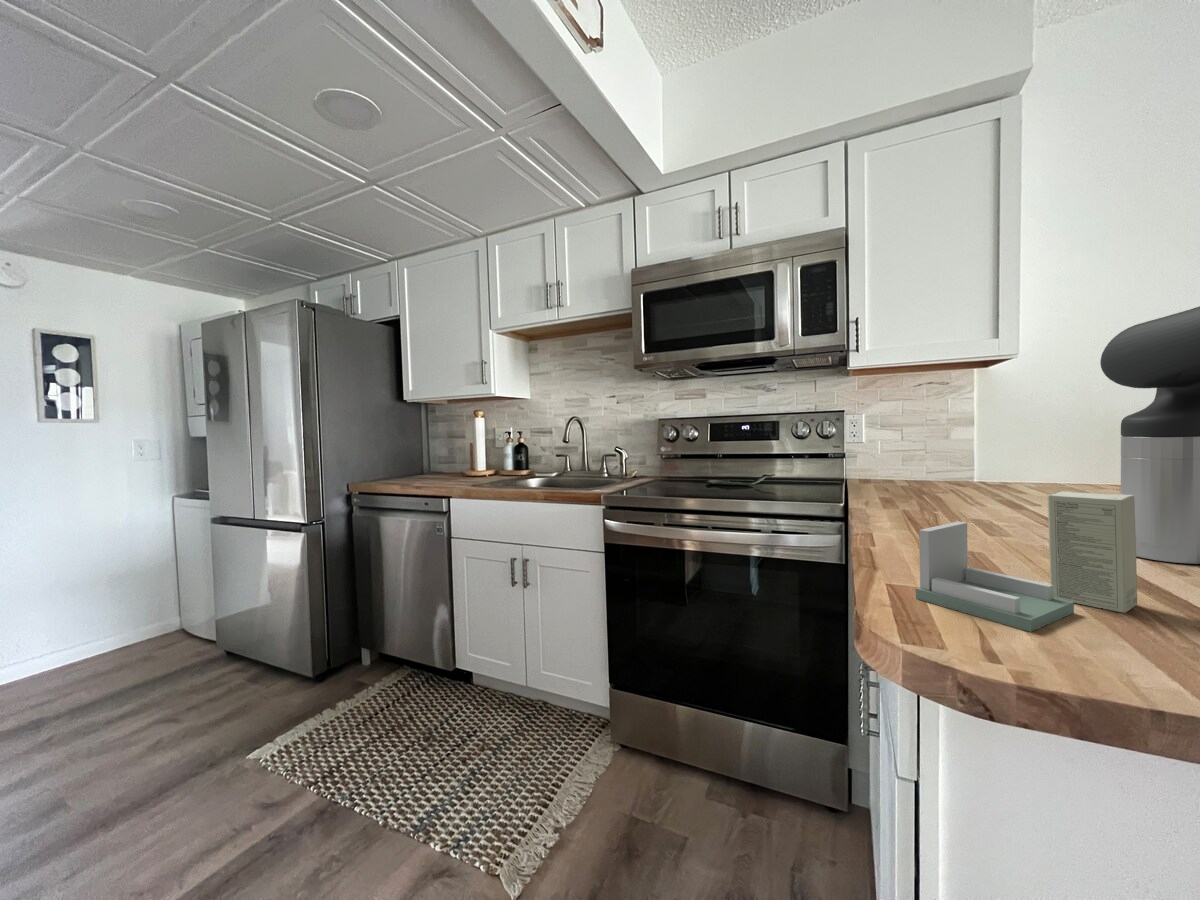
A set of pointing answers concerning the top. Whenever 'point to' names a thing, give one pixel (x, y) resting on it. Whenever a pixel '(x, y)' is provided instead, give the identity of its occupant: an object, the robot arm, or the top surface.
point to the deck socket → (981, 584)
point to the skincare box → (1093, 549)
